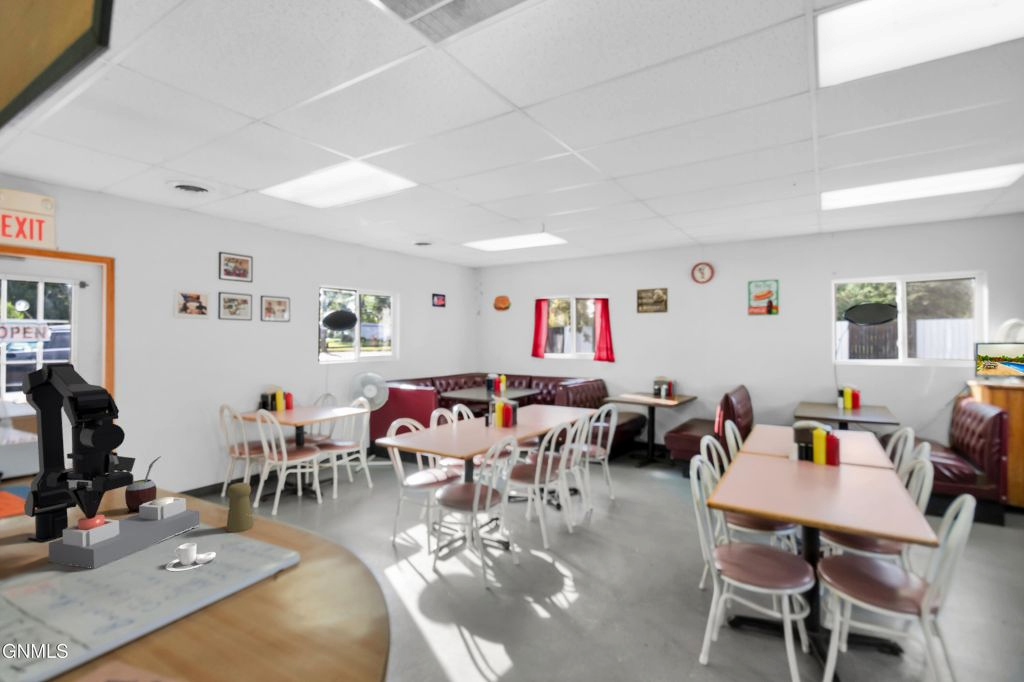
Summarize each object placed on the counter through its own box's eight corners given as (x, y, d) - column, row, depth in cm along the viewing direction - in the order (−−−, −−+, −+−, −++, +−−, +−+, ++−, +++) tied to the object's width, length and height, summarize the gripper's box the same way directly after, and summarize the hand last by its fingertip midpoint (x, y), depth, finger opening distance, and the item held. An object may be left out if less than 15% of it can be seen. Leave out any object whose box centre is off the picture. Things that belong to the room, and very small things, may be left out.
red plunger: (73, 535, 107) (72, 520, 107) (95, 528, 111) (95, 513, 111) (87, 537, 106) (86, 522, 106) (109, 529, 110) (109, 515, 110)
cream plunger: (147, 514, 122) (147, 501, 122) (165, 508, 127) (165, 496, 127) (161, 516, 121) (160, 503, 121) (178, 510, 125) (177, 497, 125)
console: (49, 561, 107) (48, 528, 107) (158, 521, 130) (158, 494, 130) (94, 569, 103) (93, 535, 103) (199, 526, 125) (198, 498, 125)
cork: (241, 533, 120) (240, 487, 120) (220, 531, 122) (219, 486, 122) (259, 523, 126) (258, 480, 126) (238, 522, 127) (237, 480, 127)
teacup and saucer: (222, 559, 107) (222, 540, 107) (187, 576, 99) (186, 555, 99) (192, 554, 110) (192, 536, 110) (156, 570, 102) (155, 550, 102)
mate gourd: (124, 510, 140) (123, 457, 140) (158, 503, 145) (157, 452, 145) (127, 516, 134) (125, 461, 134) (162, 509, 140) (161, 456, 140)
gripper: (157, 441, 113) (158, 509, 113) (100, 438, 119) (101, 503, 119) (103, 451, 103) (105, 527, 103) (44, 448, 108) (46, 519, 109)
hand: (91, 518), depth 109 cm, fingers closed, pressing on red plunger
